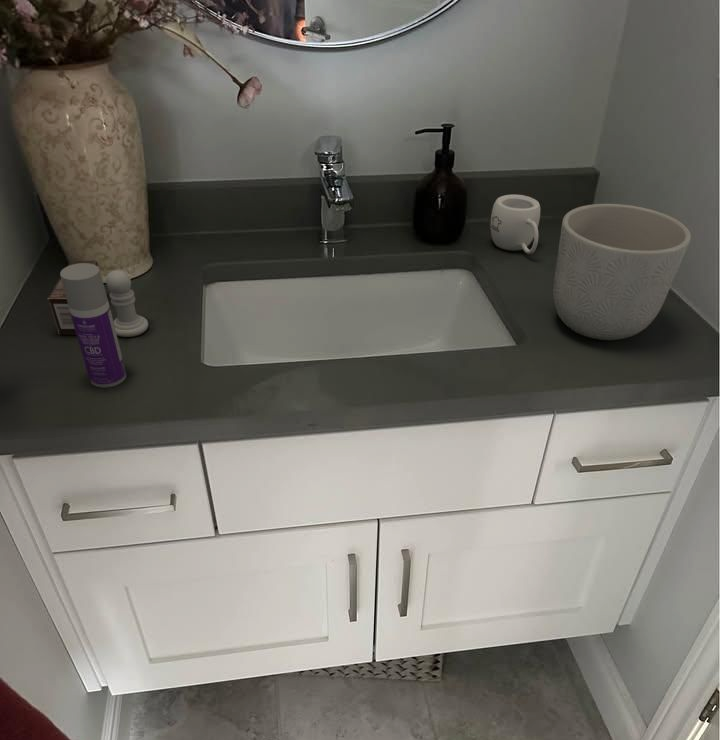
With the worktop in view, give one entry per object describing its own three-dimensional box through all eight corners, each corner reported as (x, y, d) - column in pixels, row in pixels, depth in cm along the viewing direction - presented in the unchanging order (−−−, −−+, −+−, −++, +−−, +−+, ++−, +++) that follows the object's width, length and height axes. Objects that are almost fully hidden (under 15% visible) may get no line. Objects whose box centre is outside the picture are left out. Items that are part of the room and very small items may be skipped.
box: (55, 335, 100) (79, 296, 109) (87, 335, 100) (108, 296, 109) (43, 296, 96) (69, 259, 105) (76, 296, 96) (99, 259, 105)
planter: (565, 358, 98) (592, 255, 87) (526, 301, 110) (545, 205, 100) (677, 351, 100) (716, 249, 89) (626, 296, 112) (655, 200, 102)
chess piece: (121, 342, 99) (107, 283, 93) (105, 327, 102) (90, 269, 96) (155, 330, 101) (143, 272, 95) (138, 316, 104) (126, 259, 98)
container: (92, 390, 90) (61, 282, 80) (87, 372, 93) (56, 266, 83) (129, 383, 91) (103, 276, 81) (123, 365, 94) (97, 260, 84)
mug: (478, 238, 128) (484, 195, 123) (518, 233, 130) (526, 190, 125) (511, 266, 120) (519, 220, 114) (553, 259, 122) (563, 214, 117)
